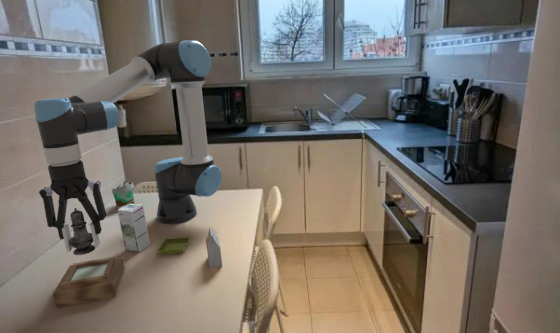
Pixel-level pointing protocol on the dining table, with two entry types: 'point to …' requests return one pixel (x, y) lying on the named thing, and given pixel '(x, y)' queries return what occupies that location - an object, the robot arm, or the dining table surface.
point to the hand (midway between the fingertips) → (83, 247)
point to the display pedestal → (89, 281)
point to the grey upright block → (213, 250)
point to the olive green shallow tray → (173, 245)
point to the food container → (123, 194)
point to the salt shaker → (80, 234)
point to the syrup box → (133, 227)
